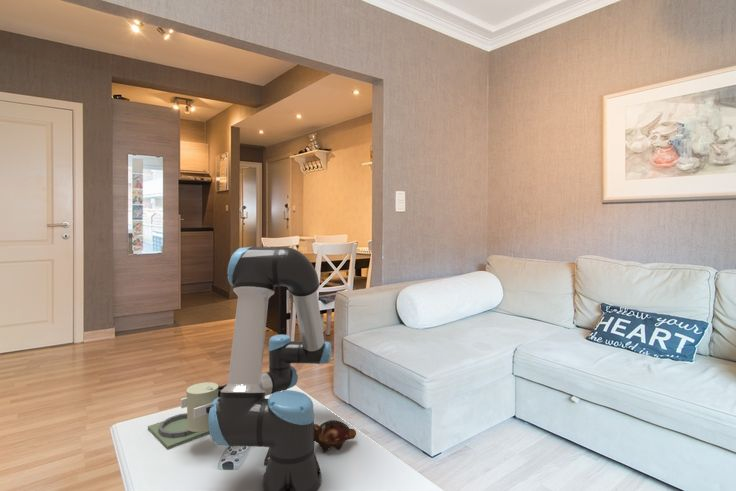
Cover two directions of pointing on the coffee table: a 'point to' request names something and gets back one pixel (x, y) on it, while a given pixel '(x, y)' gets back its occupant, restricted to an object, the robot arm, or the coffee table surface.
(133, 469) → the coffee table surface
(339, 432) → the decorative turtle
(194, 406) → the can
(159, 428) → the deck mount
